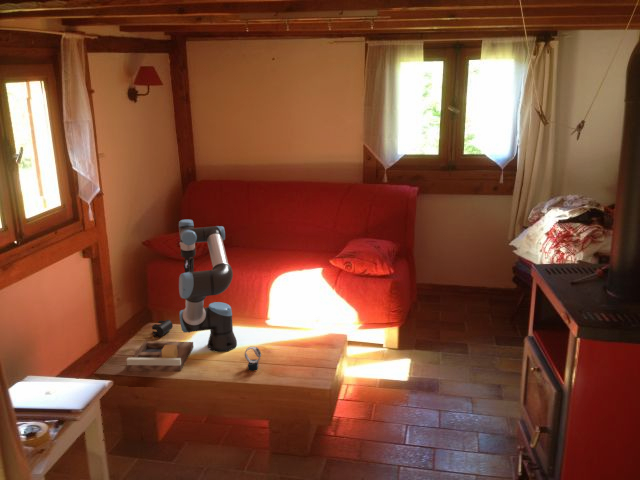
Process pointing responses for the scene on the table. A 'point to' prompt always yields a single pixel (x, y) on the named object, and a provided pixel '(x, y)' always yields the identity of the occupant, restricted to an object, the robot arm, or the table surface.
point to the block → (169, 351)
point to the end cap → (162, 328)
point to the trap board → (159, 357)
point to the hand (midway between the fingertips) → (190, 290)
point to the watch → (253, 363)
